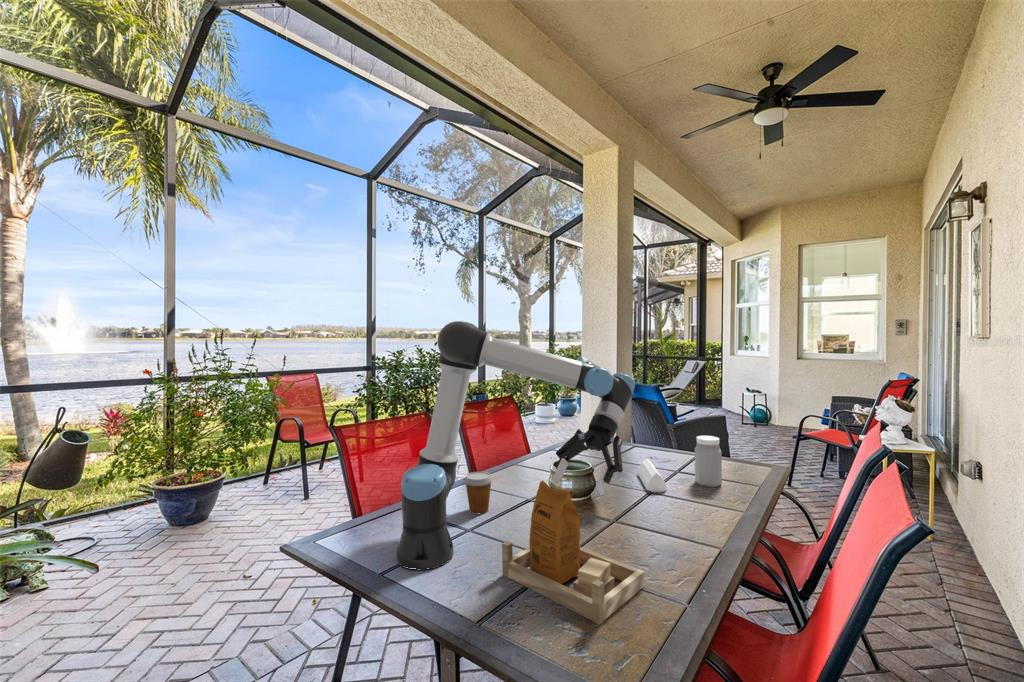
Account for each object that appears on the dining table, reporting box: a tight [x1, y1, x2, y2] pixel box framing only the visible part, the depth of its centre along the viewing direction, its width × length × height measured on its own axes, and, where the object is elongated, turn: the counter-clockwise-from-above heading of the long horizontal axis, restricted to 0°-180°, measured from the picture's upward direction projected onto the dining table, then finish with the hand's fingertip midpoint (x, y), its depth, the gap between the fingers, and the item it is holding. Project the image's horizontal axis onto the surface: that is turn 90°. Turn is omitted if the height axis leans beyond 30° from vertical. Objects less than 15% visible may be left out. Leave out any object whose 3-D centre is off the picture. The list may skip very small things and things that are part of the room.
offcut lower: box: [572, 576, 616, 598], centre depth 105 cm, size 8×6×3 cm
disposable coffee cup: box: [464, 471, 493, 514], centre depth 154 cm, size 10×10×12 cm
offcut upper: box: [577, 558, 611, 588], centre depth 105 cm, size 7×5×3 cm
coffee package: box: [528, 480, 581, 585], centre depth 113 cm, size 10×12×22 cm
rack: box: [501, 540, 646, 625], centre depth 109 cm, size 19×28×8 cm
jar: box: [694, 435, 723, 488], centre depth 177 cm, size 10×10×18 cm
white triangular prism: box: [637, 458, 668, 493], centre depth 180 cm, size 7×7×24 cm
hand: (575, 486), depth 119 cm, fingers open, 13 cm apart
